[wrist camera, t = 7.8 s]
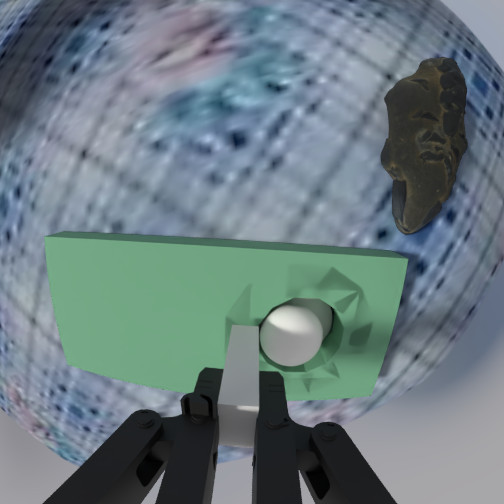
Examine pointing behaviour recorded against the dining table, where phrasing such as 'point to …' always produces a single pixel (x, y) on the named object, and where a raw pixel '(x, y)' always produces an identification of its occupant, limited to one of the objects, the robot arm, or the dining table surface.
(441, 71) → the stone
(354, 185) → the dining table surface
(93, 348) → the green rectangular board
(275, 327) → the ball
